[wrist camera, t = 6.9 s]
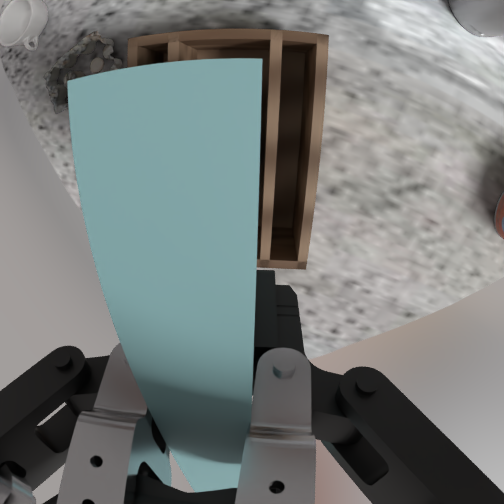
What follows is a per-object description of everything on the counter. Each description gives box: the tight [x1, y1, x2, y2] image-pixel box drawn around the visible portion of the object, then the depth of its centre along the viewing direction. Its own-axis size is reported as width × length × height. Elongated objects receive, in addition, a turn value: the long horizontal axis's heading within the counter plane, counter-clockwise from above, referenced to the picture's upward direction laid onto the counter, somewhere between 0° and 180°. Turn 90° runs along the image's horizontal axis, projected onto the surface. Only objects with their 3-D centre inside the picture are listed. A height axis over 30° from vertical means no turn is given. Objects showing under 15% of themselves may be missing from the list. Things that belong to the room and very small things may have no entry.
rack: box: [127, 29, 329, 269], centre depth 31 cm, size 24×18×10 cm
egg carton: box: [44, 31, 122, 114], centre depth 29 cm, size 11×8×4 cm
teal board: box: [67, 58, 262, 492], centre depth 14 cm, size 14×2×20 cm, turn 179°
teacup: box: [0, 0, 48, 51], centre depth 23 cm, size 10×8×5 cm
